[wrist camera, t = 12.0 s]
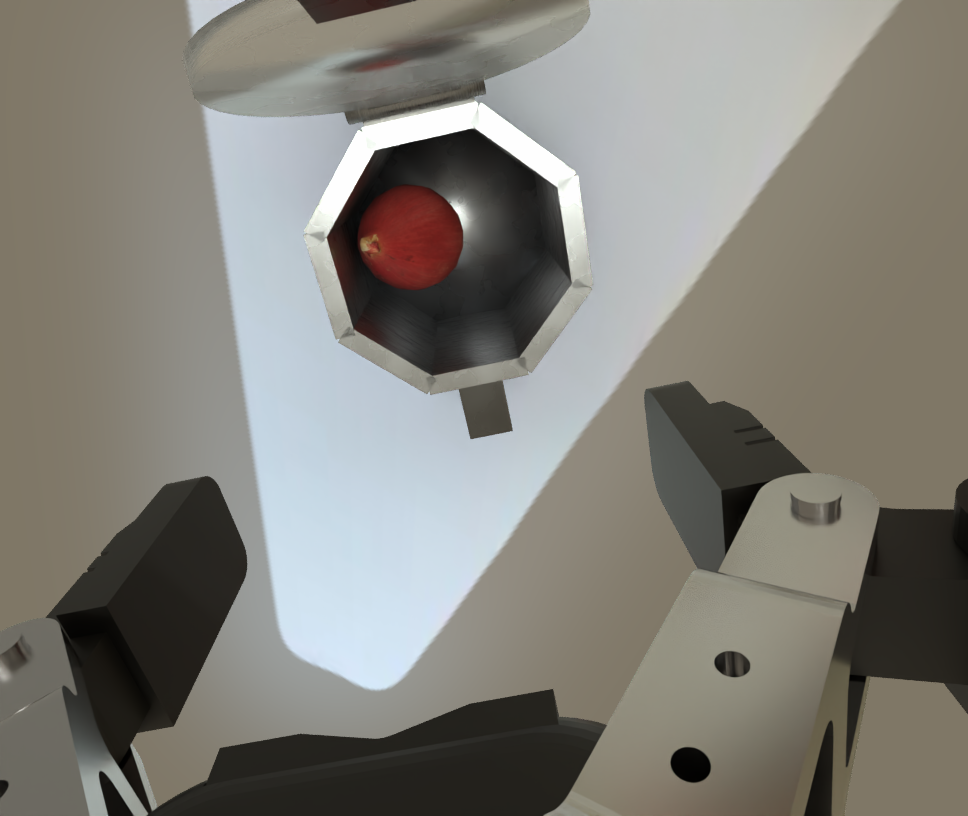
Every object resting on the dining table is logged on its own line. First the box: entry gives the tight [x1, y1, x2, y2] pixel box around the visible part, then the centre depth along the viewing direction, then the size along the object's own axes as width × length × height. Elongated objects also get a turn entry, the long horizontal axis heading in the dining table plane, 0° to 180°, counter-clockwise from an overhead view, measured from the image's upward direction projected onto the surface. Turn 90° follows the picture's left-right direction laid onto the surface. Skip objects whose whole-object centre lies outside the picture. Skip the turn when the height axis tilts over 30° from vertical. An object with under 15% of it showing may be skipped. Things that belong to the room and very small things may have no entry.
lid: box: [182, 0, 590, 125], centre depth 19 cm, size 12×19×2 cm
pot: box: [304, 97, 593, 439], centre depth 36 cm, size 14×18×11 cm
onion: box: [358, 184, 463, 290], centre depth 36 cm, size 6×6×8 cm
